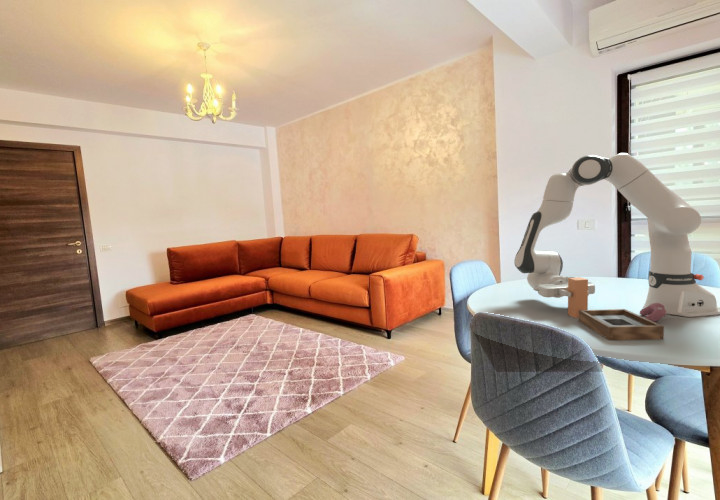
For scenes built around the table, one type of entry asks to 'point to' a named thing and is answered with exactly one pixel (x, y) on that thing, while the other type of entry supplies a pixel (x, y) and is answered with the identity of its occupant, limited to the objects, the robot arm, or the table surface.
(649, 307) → the video game controller
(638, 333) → the box
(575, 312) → the peg
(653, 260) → the robot arm
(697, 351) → the table surface
